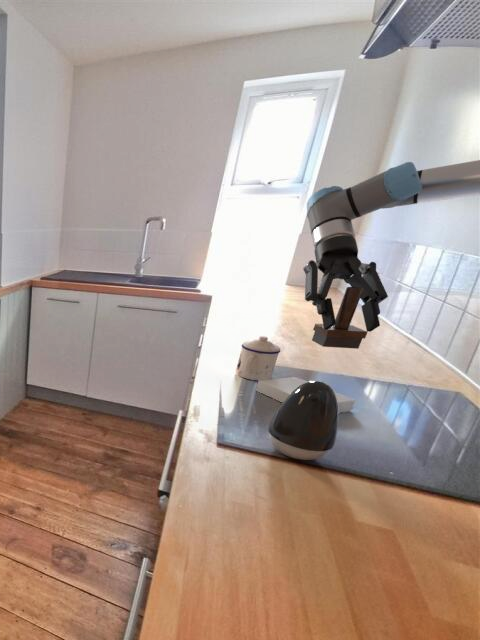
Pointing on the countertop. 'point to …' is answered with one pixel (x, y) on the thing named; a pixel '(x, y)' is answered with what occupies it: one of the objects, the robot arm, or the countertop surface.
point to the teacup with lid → (257, 359)
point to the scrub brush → (342, 324)
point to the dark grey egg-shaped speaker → (306, 422)
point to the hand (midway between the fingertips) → (351, 327)
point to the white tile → (285, 386)
